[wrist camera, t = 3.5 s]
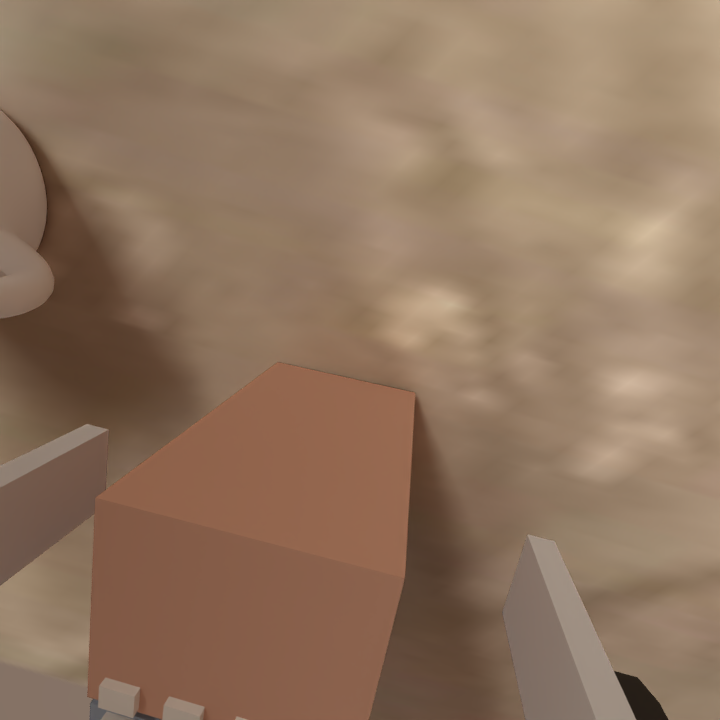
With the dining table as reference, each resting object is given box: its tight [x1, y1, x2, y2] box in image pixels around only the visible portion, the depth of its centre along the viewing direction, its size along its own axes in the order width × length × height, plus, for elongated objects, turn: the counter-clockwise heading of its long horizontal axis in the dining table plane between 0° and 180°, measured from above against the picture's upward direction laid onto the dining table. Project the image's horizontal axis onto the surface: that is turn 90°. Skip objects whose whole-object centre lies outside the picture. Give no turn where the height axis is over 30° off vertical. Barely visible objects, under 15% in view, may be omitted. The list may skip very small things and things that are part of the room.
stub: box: [87, 362, 415, 720], centre depth 14 cm, size 5×6×11 cm
